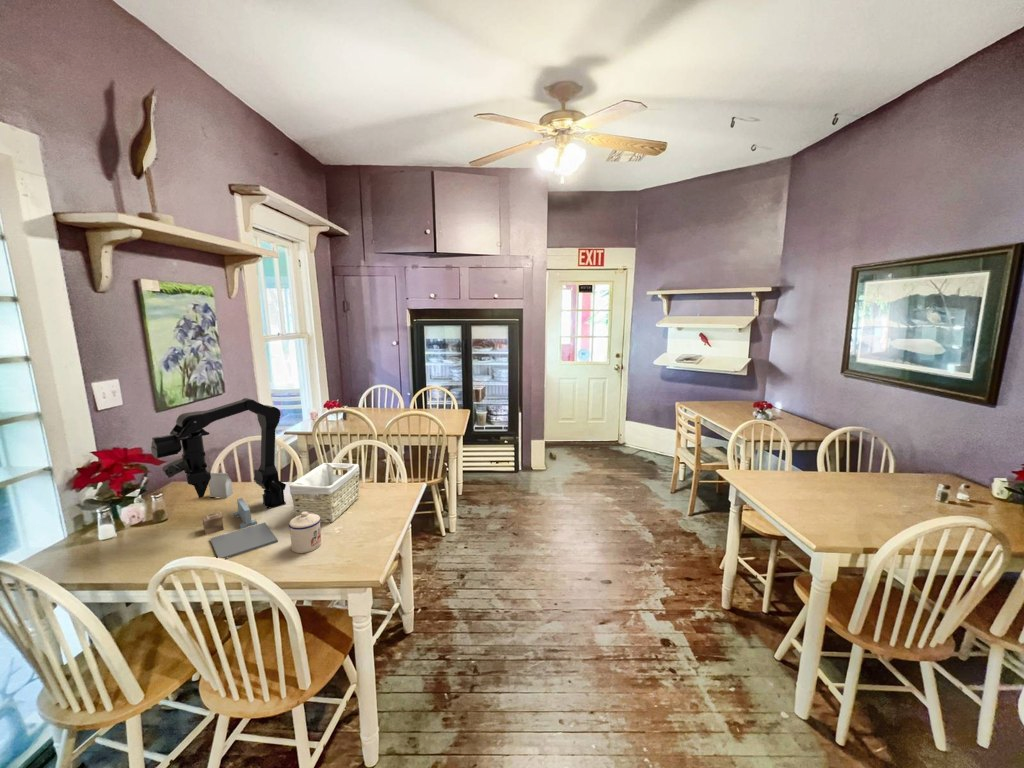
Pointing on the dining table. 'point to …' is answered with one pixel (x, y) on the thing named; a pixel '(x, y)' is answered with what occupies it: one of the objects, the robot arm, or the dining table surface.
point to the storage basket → (326, 491)
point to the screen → (244, 514)
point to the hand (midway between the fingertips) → (199, 493)
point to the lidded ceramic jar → (305, 532)
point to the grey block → (220, 485)
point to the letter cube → (213, 523)
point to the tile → (243, 540)
